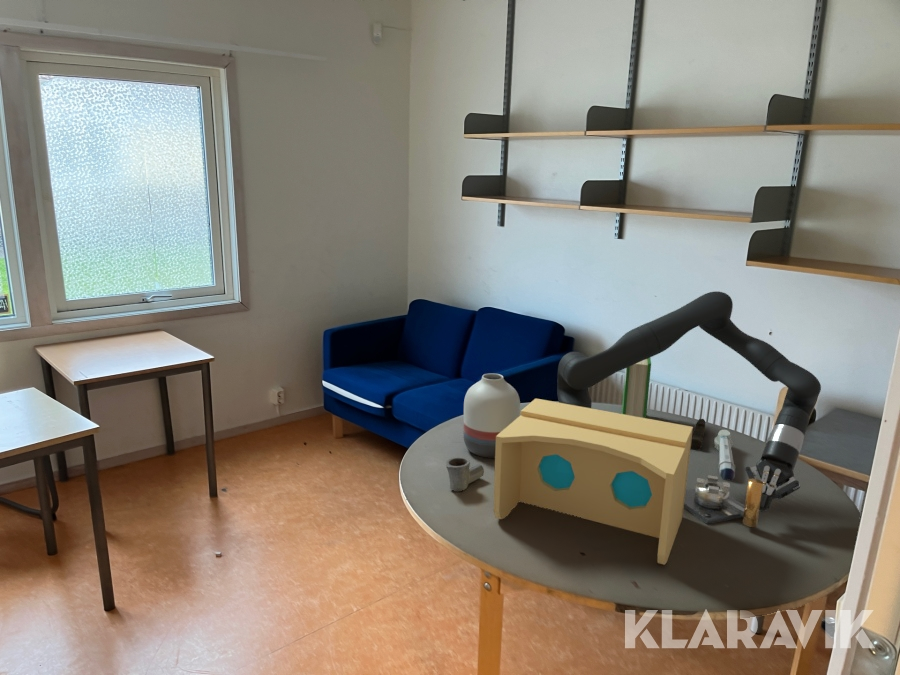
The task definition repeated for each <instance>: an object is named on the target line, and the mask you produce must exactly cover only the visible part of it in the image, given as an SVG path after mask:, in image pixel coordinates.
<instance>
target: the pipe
mask: <svg viewBox="0 0 900 675" xmlns="http://www.w3.org/2000/svg"><path fill="white" fill-rule="evenodd" d="M445 466H446V469H447V473H448V478H449V488H450V490H451V491H452V490H454V491H453V492H461V491H462V490H463V491H465V490H467V488H468V486H469V485H470V484H471V483H474V482H475V481H477V480H478V479H480V478H482V477H484V473H485V469H484V466H482V465H481V464H475V465H473V466H472V467H470V466H471V460H470V459H468V458H466V457H459V456H458V457H451V458H449V459H447V460H446V462H445ZM463 491H462V492H463Z"/></svg>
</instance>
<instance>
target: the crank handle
mask: <svg viewBox="0 0 900 675" xmlns="http://www.w3.org/2000/svg"><path fill="white" fill-rule="evenodd" d="M762 488H763V482H762V481H761V479H757V478H755V479H749V478H748V481H747V488H746V493H745V494H746V495H745V503H744V505H745V508H743V507H741V506H739V505H737V504H735V503H734V502H732V501H730V500H728V499H729V496H730V491H731V484H730V482H726V481H722V482H721V481H719V477H718V476H715V475H707V479H704V478H701V477H697V478H696V483H695V488H694V489H695V497H694V499H695V501H696V502H697V503H699V504H700V505H702V506H705V507H708V508H713V509H721V508H725V507H728V508H730V509H732V510H733V511H735V512H737V513H738V514H740V515H742V516H743V517H742V524H743V525H744V526H746V527H749V528H755V527H757V526H758V522H759V521H758V520H759V515H760V514H759V513H760V511H759V509H760V502H761V495H762Z"/></svg>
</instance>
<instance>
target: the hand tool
mask: <svg viewBox="0 0 900 675" xmlns="http://www.w3.org/2000/svg"><path fill="white" fill-rule="evenodd" d="M705 428H706V420H705V419H704V418H699V419H698V420H697V422H696V424H695V428H694V431H692V439H691V448H690V450H694V451H699V450H701V449H702V446H703V438H704V435H705Z"/></svg>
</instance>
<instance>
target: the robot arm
mask: <svg viewBox="0 0 900 675" xmlns="http://www.w3.org/2000/svg"><path fill="white" fill-rule="evenodd" d="M733 306H734V305H733V300H732V298H731V296H730V295H729V294H727V293H726V292H723V291H710V292H707V293H703V294H702V295H699V296H698V297H697V298H695V299H693V300H692V301H689V302H688V303H686V304H685V305H683V306H681V307H680V308H677V309H675V310H673V311H671V312H668V313H666V314H664V315H662V316H660V317H658V318H655V319H653V320H651V321H649V322H645V323H644V324H642V325H639V326H637V327H635V328H633V329H630V330H629V331H627V332H625V333H624V334H623V335H622V336H620V338H619V339H618V340H617V341H616V342H615V343H614V344H612V345H611V346H610V347H609V348H607V349H604V350H603V351H601V352H598V353H596V354H593V355H590V356H586V355H585V354H583V353H582V352H579V351H569V352H567V353H566V354H564V355H563V356H562V357H561V359H560V361H559V363H558V367H557V383H556V384H557V385H556V386H557V387H556V388H557V389H556V392H557V394H556V395H557V399H558V403H564V404H569V405H575V406H580V407H586V408H591V409H592V405H593V404H592V399H591V395H590V391H589V388H592V387H593V386H595V385H597V384H598V383H600V382H602V381H604V380H605V379H607V378H610V376H612V375H614V374H616V373H618V372H620V371H622V370H625V368H627V367H630V366H632V365H634V364H636V363H638V362H641V361H643V360H646V359H648V358H650V359H651V358H652V357H654V356H656V355H659V354H661V353H663V352H665V351H667V350H668V349H669V348H670V347H671V346H673V345H674V344H675V343H677V342H678V341H679V340H680V339H681V338H682V337H684V335H686V334H687V333H689V332H690V331H692V330H694V328H696V327H699V328H700V329H701V330H703V331H704V332H705V333H707V334H709V335H710V336H711V337H712V338H714V339H716V340H718V341H719V342H721V343H722V344H724V345H725V346H727V347H728V348H729V349H731V350H733V351H734V352H736V353H737V354H739V355H740V356H741V357H742V358H743V359H745V360H746V361H747V362H749V363H750V364H751V365H752V366H753V367H754V368H755V369H757V371H759V372H760V374H762V375H763V376H764V377H766V378H767V380H768V379H769V380H770V381H771V382H775V383H776V382H780V384H783V385H784V386H785V387H786V388H787V391H786V393H785V397H784V400H783V404H782V406H781V407H782V408H780V410H779V412H778V415H777V416H776V420H775V422H774V426H773V428H772V429H771V431H770V433H769V436H768V437H767V439H766V443H765V447H764V449H763V452H762V455H761V457H760V460H759V461H758V462H757V463H756V465H755V466H752V467H751V466H746V467H745V472H746V474H747V477H748V480H749V479H756V476H757V472H758V475H759V477H760V481H762V482H763V488H762V495H761V502H760V509H759V512H762V513H765V512H766V511H768V510H769V509H770V506H771V504H772V501H773V499H778V500H781V499H784V498H785V497H787V496H788V495H791V494H792V493H794V492H795V491H797V490H800V488H801V484H800V482H799V481H798V480H797V479H796V478H794V477H795V474H794V469H795V467H796V464H797V461H798V460H799V459H798V458H799V456H800V453H801V450H802V447H803V443H804V439H805V435H806V432H807V429H808V425H809V422H810V417H811V414H812V412H813V409H814V406H815V404H816V402H817V400H818V398H819V395H820V393H821V391H822V390H821V389H822V386H821V382H820V380H819V379H818V378H817V377H816V376H815V375H814V374H813V373H812V372H810V371H809V370H808V369H805V368H804V367H802V366H800V365H798V364H797V363H794V362H793V361H791V360H789V359H788V358H787V357H786V356H784V355H783V354H782V353H781V352H780V351H779V350H777V348H775V347H774V346H773V345H771V344H770V343H768V342H766V341H764V340H763V339H760V338H757V337H754V336H751V335H750V334H747V333H746V332H744V331H743V330H741V329H740V328H739V327H738V326H737V325H735V323H734V322H733V321H732V320H731V317H732V314H733V309H734V308H733ZM786 483H787V484H786ZM783 485H784V486H783ZM780 486H782V487H781V488H780Z"/></svg>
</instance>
